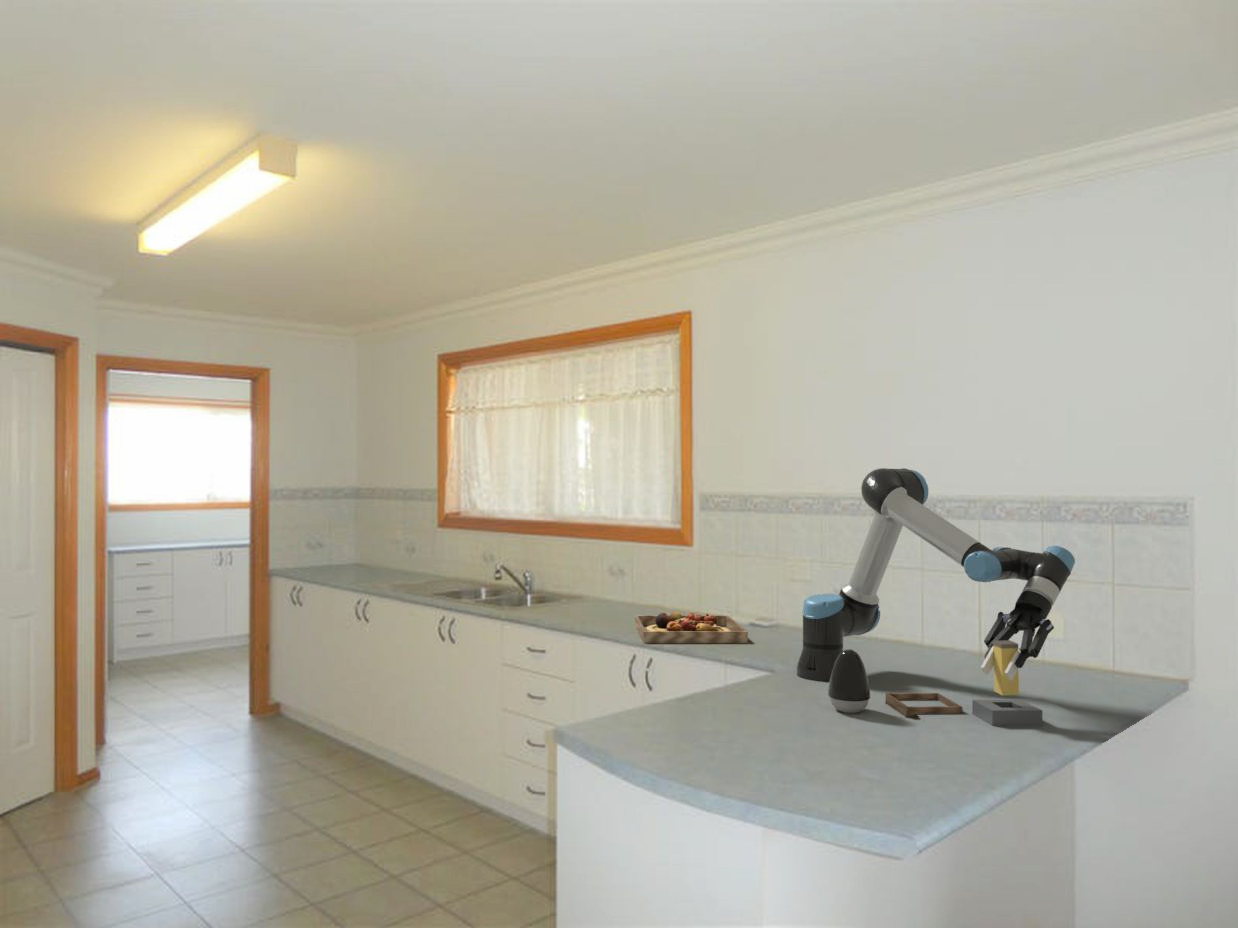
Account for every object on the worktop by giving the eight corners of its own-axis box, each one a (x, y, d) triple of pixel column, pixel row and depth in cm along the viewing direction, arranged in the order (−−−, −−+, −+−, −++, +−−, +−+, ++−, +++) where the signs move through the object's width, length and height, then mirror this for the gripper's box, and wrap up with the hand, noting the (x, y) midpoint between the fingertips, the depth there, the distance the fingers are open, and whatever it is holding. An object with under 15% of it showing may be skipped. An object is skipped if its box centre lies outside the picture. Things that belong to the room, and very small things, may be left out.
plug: (1002, 695, 207) (1001, 644, 207) (993, 690, 211) (992, 640, 211) (1019, 694, 207) (1018, 643, 207) (1010, 690, 211) (1009, 640, 211)
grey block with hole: (992, 729, 204) (992, 710, 204) (972, 718, 214) (972, 699, 214) (1042, 729, 205) (1042, 710, 205) (1020, 717, 215) (1020, 699, 215)
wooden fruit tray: (643, 643, 308) (643, 631, 308) (634, 625, 345) (634, 615, 345) (747, 642, 310) (747, 631, 310) (728, 625, 347) (728, 615, 347)
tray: (906, 717, 214) (906, 707, 214) (885, 702, 228) (885, 693, 228) (962, 717, 215) (962, 706, 215) (938, 702, 229) (938, 692, 229)
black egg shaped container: (871, 707, 223) (871, 647, 224) (868, 717, 213) (869, 654, 214) (830, 703, 227) (830, 644, 227) (826, 713, 217) (826, 651, 217)
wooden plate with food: (719, 645, 306) (720, 621, 307) (633, 637, 318) (634, 614, 318) (739, 632, 336) (740, 611, 337) (660, 626, 348) (661, 605, 348)
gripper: (1079, 615, 210) (1039, 692, 201) (1008, 604, 225) (968, 675, 216) (1067, 594, 207) (1026, 671, 198) (996, 584, 222) (955, 656, 213)
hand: (996, 673), depth 207 cm, fingers closed on plug, 5 cm apart
